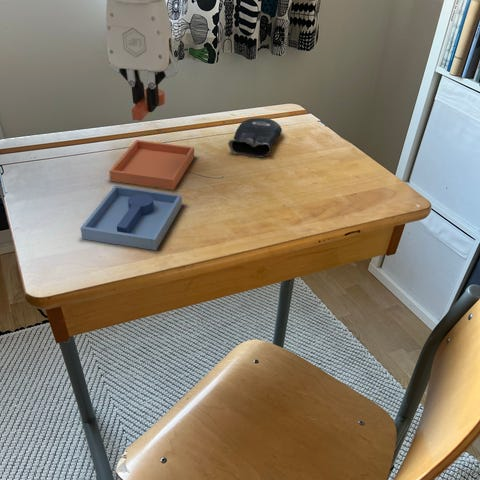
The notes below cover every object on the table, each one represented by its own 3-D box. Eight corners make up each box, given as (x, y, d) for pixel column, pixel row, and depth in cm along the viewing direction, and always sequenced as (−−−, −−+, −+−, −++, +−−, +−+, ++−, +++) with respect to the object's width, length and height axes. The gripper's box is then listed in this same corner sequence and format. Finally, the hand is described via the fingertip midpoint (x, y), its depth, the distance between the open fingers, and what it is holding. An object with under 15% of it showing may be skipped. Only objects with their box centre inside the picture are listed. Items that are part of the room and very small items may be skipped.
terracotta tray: (110, 180, 95) (109, 170, 94) (137, 149, 105) (136, 139, 104) (173, 189, 94) (173, 179, 92) (194, 156, 104) (194, 147, 103)
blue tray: (82, 238, 81) (80, 228, 80) (116, 195, 91) (114, 185, 90) (156, 250, 79) (155, 239, 78) (182, 205, 90) (181, 194, 88)
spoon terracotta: (148, 121, 87) (147, 111, 86) (125, 119, 88) (124, 108, 87) (167, 99, 95) (167, 89, 94) (146, 97, 96) (145, 87, 95)
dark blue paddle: (135, 238, 81) (134, 229, 79) (110, 234, 81) (108, 225, 80) (157, 204, 89) (156, 195, 87) (134, 201, 89) (132, 192, 88)
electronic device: (273, 165, 106) (284, 127, 115) (271, 140, 101) (283, 103, 111) (229, 164, 108) (244, 127, 117) (226, 140, 104) (241, 104, 113)
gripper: (77, -12, 77) (96, 111, 90) (177, -4, 75) (183, 121, 88) (97, -21, 82) (113, 96, 95) (191, -13, 80) (194, 106, 93)
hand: (146, 108), depth 91 cm, fingers closed on spoon terracotta, 1 cm apart
